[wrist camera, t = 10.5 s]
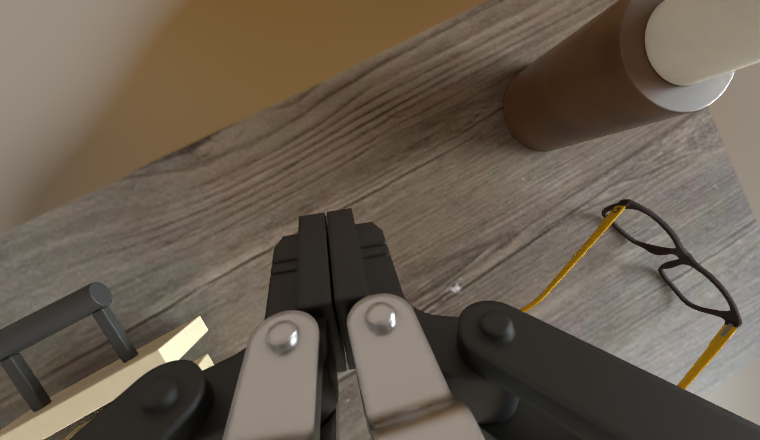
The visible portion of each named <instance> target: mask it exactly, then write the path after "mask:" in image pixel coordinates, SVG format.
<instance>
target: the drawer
mask: <svg viewBox="0 0 760 440" xmlns="http://www.w3.org/2000/svg"><path fill="white" fill-rule="evenodd" d="M111 302H112V295H111V293H110V291H109V289H108V288H107V287H106V286H105V285H103V284H102V283H99V282H93V283H91V284H89V285H87V286H85V287H83V288H81V289H79V290H77V291H75V292H73V293H71V294H69V295H67V296H65V297H63V298H62V299H60V300H58V301H56V302H54V303H52V304H50V305H48V306H46V307H44V308H42V309H40V310H38V311H36V312H34V313H32V314H30V315H28V316H26V317H24V318H22V319H20V320H18V321H16V322H15V323H13V324H11V325H9V326H7V327H5V328H3V329H1V330H0V364H1V365H2V367H3V368H4V370H5V371H6V373H7V374H8V376H9V377H10V379H11V380H12V382H13V383H14V384H15V386H16V387H17V389H18V390H19V392H20V393H21V395H22V396H23V398H24V399H25V401H26V402H27V404H28V405H29V406H30V408H31V410H29V411H28V412H26V413H25V414H23V415H22V416H20V417H19V418H17V419H16V420H14V421H13V422H11V423H10V424H8V425H7V426H5V427H4V428H2V429H1V430H0V440H43V439H45V438H47V437H49V436H50V435H52V434H54V433H56V432H58V431H59V430H61V429H63V428H65V427H66V426H68V425H70V424H72V423H74V422H75V421H77V420H79V419H81V418H83V417H84V416H86V415H88V414H90V413H91V412H93V411H95V410H97V409H99V408H100V407H102V406H104V405H106V404H108V403H109V402H111V401H113V400H114V399H116V398H117V397H118V396H119V395H120V394H121V393H122V392H124V391H125V390H126V389H127V388H128V387H129V386H130V385H132V384H133V383H134V382H135V381H136V380H137V379H139V378H140V377H141V376H142V375H144V374H145V373H147V372H148V371H150V370H151V369H153V368H155V367H157V366H159V365H161V364H164V363H167V362H170V361H175V360H179V359H180V358H181V357H182V356H183V355H184V354H185V353H186V352H187V351H188V350H189V349H190V348H191V347H192V346H193V345H194V344H195V343H196V342H197V341H198V340H199V339H200V338H201V337H202V336H203V335H204V334H205V333H206V332H207V331H208V329H207V327H206V325H205V324H204V322H203V320H202V319H201V317H200V316H198V317H196V318H194V319H192V320H190V321H188V322H187V323H185V324H183V325H181V326H179V327H177V328H176V329H174V330H172V331H170V332H168V333H166V334H165V335H163V336H161V337H159V338H157V339H155V340H154V341H152V342H150V343H148V344H146V345H144V346H143V347H141V348H139V349H137V350H136V349H135V347H134V346H133V344H132V343H131V341H130V339H129V338H128V336H127V335H126V333H125V332H124V330H123V328H122V327H121V325H120V324H119V322H118V321H117V319H116V317H115V316H114V314H113V313H112V311H111V310H110V308H109V307H108V305H110V303H111ZM106 306H107V307H106ZM91 314H92V315H93V316H94V318H95V320H96V321H97V323H98V324H99V326H100V327H101V329H102V330H103V332H104V334H105V335H106V337H107V338H108V340H109V341H110V343H111V345H112V346H113V348H114V349H115V351H116V352H117V354H118V355H119V357H120V359H119V360H117V361H115V362H113V363H111V364H109V365H108V366H106V367H104V368H102V369H100V370H98V371H97V372H95V373H93V374H91V375H89V376H87V377H86V378H84V379H82V380H80V381H78V382H76V383H75V384H73V385H71V386H69V387H67V388H65V389H64V390H62V391H60V392H58V393H56V394H54V395H53V396H51V397H49V396H48V394H47V393H46V391H45V390H44V388H43V387H42V385H41V384H40V382H39V381H38V379H37V378H36V376H35V375H34V374H33V372H32V371H31V369H30V368H29V366H28V365H27V363H26V362H25V360H24V359H23V357H22V356H21V354H20V353H18V352H20V351H22V350H24V349H26V348H28V347H30V346H32V345H33V344H35V343H37V342H39V341H41V340H43V339H45V338H47V337H49V336H51V335H53V334H55V333H56V332H58V331H60V330H62V329H64V328H66V327H68V326H70V325H72V324H74V323H76V322H78V321H79V320H81V319H83V318H85V317H87V316H89V315H91ZM16 353H17V354H16ZM193 362H194V363H196V364H197V365H198V366H199V367H200V368H201V370H202V371H203V370H205V369H207V368H209V367H211V366H213V365H214V364H213V362H212V360H211V359H210V357H209V355H208V354H206V355H204V356H202V357H200V358H199V359H197V360H195V361H193ZM92 419H93V418H92ZM92 419H90V420H92ZM90 420H88V421H87V422H85V423H83V424H81V425H79V426H78V427H76V428H75V429H74V430H73V431H72V432H71V433H69V434H68V435H67V436H66V437H65V438H64V439H62V440H69V439H70V438H71V437H72V436H73V435H74V434H76V433H77V432H78V431H79V430H80V429H81V428H82V427H84V426H85V425H86V424H87V423H88V422H89V421H90Z"/></svg>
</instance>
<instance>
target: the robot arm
mask: <svg viewBox="0 0 760 440" xmlns="http://www.w3.org/2000/svg"><path fill="white" fill-rule="evenodd" d="M327 223H328V225H327ZM272 263H273V265H272V269H271V276H270V284H269V291H268V299H267V306H266V314H265V320H264V321H263V322H261V323H260V324H259V325H258V326H257V327H256V328H255V330H254V331H253V332H252V334H251V336H250V338H249V340H248V343H247V347H246V348H245V349H243V350H242V351H241V352H239V353H238V354H236V355H234V356H232V357H230V358H228V359H226V360H224V361H222V362H219V363H217V364H215V365H213V366H211V367H209V368H207V369H205V370H203V371H202V370H201V368H200V367H199V366H198V365H197V364H196V363H194V362H192V361H188V360H175V361H170V362H167V363H164V364H161V365H159V366H157V367H155V368H153V369H151V370H150V371H148V372H147V373H145V374H144V375H142V376H141V377H140V378H139V379H137V380H136V381H135V382H134V383H133V384H132V385H130V386H129V387H128V388H127V389H126V390H125V391H124V392H122V393H121V394H120V395H119V396H118V397H117V398H116V399H114V400H113V401H112V402H111V403H110V404H109V405H108V406H106V407H105V408H104V409H103V410H102V411H101V412H100V413H98V414H97V415H96V416H95V417H94V418H93V419H92V420H90V421H89V422H88V423H87V424H86V425H85V426H84V427H82V428H81V429H80V430H79V431H78V432H77V433H76V434H74V435H73V436H72V437H71V438H70V439H69V440H339V402H338V393H339V392H338V379H337V372H342V371H347V369H346V360H345V352H346V356H347V361H348V366H349V370H350V369H355V368H356V373H357V378H358V384H359V388H360V394H361V399H362V404H363V408H364V413H365V418H366V422H367V427H368V432H369V436H370V440H760V426H759V425H757V424H755V423H753V422H750V421H749V420H746V419H744V418H742V417H740V416H738V415H736V414H734V413H732V412H730V411H728V410H726V409H723V408H722V407H719V406H717V405H715V404H713V403H711V402H709V401H707V400H705V399H703V398H701V397H699V396H697V395H695V394H692V393H690V392H688V391H686V390H684V389H682V388H680V387H678V386H676V385H674V384H672V383H670V382H668V381H665V380H663V379H661V378H659V377H657V376H655V375H653V374H651V373H649V372H647V371H645V370H643V369H641V368H638V367H636V366H634V365H632V364H630V363H628V362H626V361H624V360H622V359H620V358H618V357H616V356H614V355H612V354H609V353H607V352H605V351H603V350H601V349H599V348H597V347H595V346H593V345H591V344H589V343H587V342H585V341H582V340H580V339H578V338H576V337H574V336H572V335H570V334H568V333H566V332H564V331H562V330H560V329H558V328H555V327H553V326H551V325H549V324H547V323H545V322H543V321H541V320H539V319H537V318H535V317H533V316H531V315H528V314H526V313H524V312H522V311H520V310H518V309H516V308H514V307H512V306H510V305H507V304H504V303H501V302H496V301H480V302H476V303H474V304H471V305H469V306H468V307H466V308H465V309H464V310H463V311H462V313H461V314H460V317H449V316H438V315H431V314H427V313H424V312H422V311H420V310H418V309H416V308H415V307H413V306H412V305H411V304H410V303H409V302H408V301H407V300H406V298H405V297H404V295H403V292H402V289H401V286H400V283H399V280H398V277H397V274H396V271H395V268H394V265H393V262H392V259H391V256H390V253H389V250H388V247H387V245H386V241H385V237H384V234H383V231H382V230H381V229H380V228H378V227H377V226H376V225H375V224H374V223H373V222H368V223H362V224H356V225H355V223H354V219H353V214H352V209H351V208H349V209H342V210H336V211H330V212H327V220H326V216H325V213H318V214H312V215H305V216H300V217H299V230H298V234H296V235H290V236H284V237H283V238H282V239H281V240H280V242H279V243H278V244H277V246H276V247H275V249H274V254H273V261H272ZM344 347H345V351H344Z"/></svg>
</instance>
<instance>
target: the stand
mask: <svg viewBox="0 0 760 440" xmlns="http://www.w3.org/2000/svg"><path fill="white" fill-rule="evenodd" d="M663 1H664V0H619V1H617V2H616V3H614V4H613V5H612V6H610V7H609V8H607V9H606V10H605V11H603V12H602V13H601V14H599V15H598V16H596V17H595V18H594V19H592V20H591V21H590V22H588V23H587V24H585V25H584V26H583V27H581V28H580V29H578V30H577V31H576V32H574V33H573V34H572V35H570V36H569V37H567V38H566V39H565V40H563V41H562V42H561V43H559V44H558V45H556V46H555V47H554V48H552V49H551V50H549V51H548V52H547V53H545V54H544V55H543V56H541V57H540V58H538V59H537V60H536V61H534V62H533V63H532V64H530V65H529V66H527V67H526V68H525V69H523V70H522V71H521V72H519V73H518V74H517V75H516V76H515V77H514V78H513V79H512V81H511V82H510V84H509V86H508V87H507V90H506V93H505V97H504V103H503V110H504V117H505V121H506V124H507V126H508V128H509V130H510V132H511V133H512V135H513V136H514V137H515V138H516V139H517V140H518V141H519V142H520V143H521V144H523V145H524V146H526V147H528V148H530V149H533V150H536V151H552V150H555V149H559V148H563V147H566V146H570V145H573V144H577V143H581V142H584V141H588V140H592V139H595V138H599V137H603V136H606V135H610V134H614V133H617V132H621V131H625V130H628V129H632V128H636V127H639V126H643V125H646V124H650V123H654V122H657V121H661V120H665V119H668V118H672V117H676V116H679V115H683V114H687V113H690V112H694V111H697V110H700V109H702V108H704V107H706V106H708V105H709V104H711V103H712V102H714V101H715V100H716V99H717V98H718V97H719V96H720V95H721V94H722V93H723V92H724V91H725V89H726V88H727V86H728V84H729V83H730V81H731V79H732V77H733V74H734V72H735V71H732V72H729V73H726V74H723V75H720V76H717V77H714V78H712V79H709V80H706V81H703V82H700V83H697V84H694V85H689V86H680V85H675V84H672V83H670V82H668V81H666V80H665V79H663V78H662V77H661V76H660V75H659V74H658V73H657V72H656V71H655V70H654V68H653V67H652V65H651V63H650V61H649V59H648V56H647V53H646V48H645V30H646V25H647V22H648V20H649V18H650V16H651V14H652V12H653V11H654V10H655V8H656V7H657V6H658V5H659V4H660V3H662V2H663Z"/></svg>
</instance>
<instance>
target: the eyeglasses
mask: <svg viewBox="0 0 760 440" xmlns="http://www.w3.org/2000/svg"><path fill="white" fill-rule="evenodd" d="M624 209H634V210H639V211H641V212H643V213H645V214H647V215H648V216H650V217H651V218H652V219H653V220H655V221H656V222H657V223H658V224H659V225H660V226H661V227H662V228H663V229H664V230H665V231H666V232H667V233H668V235H669V236H670V237H671V239H672V240H673V242H674V244H675V246H676V248H665V247H659V246H654V245H650V244H646V243H643V242H640V241H637V240H636V239H634V238H633V237H631V236H630V235H629V234H627V233H626V232H625V231H624V230H623V229H622V228H621V227H620V226H619V225H618V224H617V223H616V222H615V221H614V220H615V219H616V218H617V217H618V216H619V215H620V213H621V212H622V211H623V210H624ZM611 210H612V211H611ZM608 211H611V212H610V213H609V214H607V212H608ZM602 216H603V217H604V218H605V219H604V220H603V222H602V223H601V224H600V225H599V226H598V228H597V230H596V231H595V232H594V233H593V234H592V235H591V237H590V238H589V239H588V240H587V241H586V242H585V244H584V245H583V246H582V247H581V248H580V249H579V251H578V252H577V253H576V254H575V255H574V256H573V258H572V259H571V260H570V261H569V262H568V263H567V265H566V266H565V267H564V268H563V269H562V270H561V272H560V273H559V274H558V275H557V276H556V277H555V279H554V280H553V281H552V282H551V283H550V284H549V286H548V287H547V288H546V289H545V290H544V291H543V293H541V294H540V295H539V296H538V297H537V298H536V299H535V300H534V301H532V302H531V303H530V304H528V305H527V306H525V307H523V308H521V309H520V311H522V312H526V311H528V310H529V309H531V308H532V307H534V306H535V305H537V304H538V303H539V302H540V301H541V300H542V299H543V298H544V297H545V296H547V294H548V293H549V292H550V291H551V290H552V289H553V288H554V287H555V286H556V285H557V283H558V282H559V281H560V280H561V279H562V278H563V277H564V276H565V275H566V274H567V272H568V271H569V270H570V269H571V268H572V267H573V266H574V265H575V264H576V263H577V261H578V260H579V259H580V258H581V257H582V256H583V255H584V254H585V253H586V252H587V250H588V249H589V248H590V247H591V246H592V245H593V244H594V243H595V242H596V241H597V239H598V238H599V237H600V236H601V235H602V234H603V233H604V232H605V231H606V230H607V228H608V227H609V226H610V225H612V226H613V227H614V228H615V229H616V230H617V231H618V232H619V233H620V234H622V235H623V236H624V237H625V238H626V239H628V240H629V241H630V242H632V243H634V244H636V245H638V246H640V247H642V248H644V249H646V250H647V251H649V252H650V253H652V254H655V255H667V254H674V255H676V256H677V257H678V258H679V259H677V260H673V261H669V262H666V263H664V264H662V265H661V266H660V267H659V269H658V271H659V273H660V275H661V277H662V278H663V279H664V281H665V282H666V283H667V284H668V285H669V287H670V288H671V289H672V290H673V291H674V292H675V294H676V295H677V296H678V297H679V298H680V299H681V300H682V301H683V302H684V303H685V304H686V305H687V306H689V307H691V308H693V309H695V310H698V311H701V312H704V313H708V314H712V315H715V316H718V317H721V318H723V319H724V320H725V324H724V326H723V327H722V328H721V330H720V331H719V332H718V333H717V335H716V336H715V337H714V339H713V340H712V341H711V342H710V344H709V347H708V348H707V349H706V350H705V352H704V353H703V354H702V355H701V357H700V358H699V359H698V360H697V362H696V363H695V364H694V365H693V367H692V368H691V369H690V370H689V372H688V373H687V374H686V375H685V377H684V378H683V379H682V380H681V382H680V383H679V384H678V385H677V386H678V387H680V388H682V389H684V390H685V389H686V388H687V387H688V385H689V384H690V383H691V382H692V381H693V380H694V379H695V378H696V376H697V375H698V374H699V373H700V372H701V371H702V370H703V369H704V367H705V366H706V365H707V364H708V363H709V362H710V361H711V360H712V358H713V357H714V356H715V355H716V354H717V353H718V352H719V350H720V349H721V348H722V347H723V346H724V344H725V343H726V342H727V341H728V340H729V338H730V337H731V336H732V335H733V333H734V332H735V331H736V330H737V328H738V327H739V326H741V324H742V320H741V317H740V314H739V311H738V309H737V306H736V304H735V302H734V300H733V299H732V297H731V296H730V294H729V293H728V291H727V290H726V289H725V287H724V286H723V285H722V284H721V283H720V282H719V281H718V280H717V279H716V278H715V277H714V276H713V275H712V274H711V273H710V272H709V271H707V270H706V269H704V268H703V267H702V266H701V265H700V264H698V263H697V262H696V261H695V259H694V258H693V257H692V255H691V254H690V253H689V252H687V251H686V249H685V248H684V247H683V245H682V243H681V241H680V239H679V237H678V236H677V234H676V233H675V232H674V231H673V230H672V228H671V227H670V226H669V225H668V224H667V223H666V222H665V221H663V220H662V219H661V218H660V217H659V216H657V215H656V214H655V213H653V212H652V211H651V210H649V209H647V208H646V207H644V206H642V205H640V204H638V203H636V202H634V201H632V200H629V199H623V200H621V201H619V202H618V203H616V204H613V205H610V206H608V207H606V208H604V210H603V211H602ZM681 264H685V265H689V266H691V267H693V268H695V269H696V270H697V271H699V272H700V273H701V274H703V275H704V276H705V277H707V278H708V279H709V280H710V281H711V282H712V283H713V284H714V285H715V286H716V287H717V288H718V289H719V291H720V292H721V293H722V294H723V296H724V297H725V299H726V300H727V302H728V304H729V306H730V311H719V310H713V309H708V308H703V307H700V306H697V305H695V304H693V303H691V302H690V301H688V300H687V299H686V298H685V297H684V296H683V295H682V293H681V292H680V291H679V290H678V289H677V288H676V286H675V285H674V284H673V283H672V282H671V281H670V280H669V278H668V277H667V276H666V274H665V272H664V271H663V268H664V269H669V268H673V267H675V266H678V265H681Z"/></svg>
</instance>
